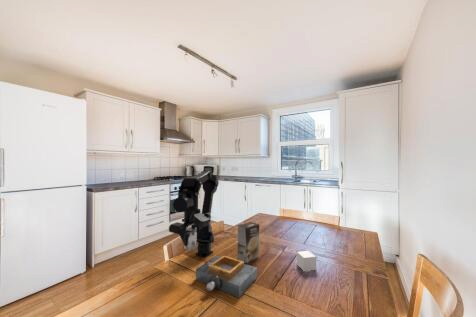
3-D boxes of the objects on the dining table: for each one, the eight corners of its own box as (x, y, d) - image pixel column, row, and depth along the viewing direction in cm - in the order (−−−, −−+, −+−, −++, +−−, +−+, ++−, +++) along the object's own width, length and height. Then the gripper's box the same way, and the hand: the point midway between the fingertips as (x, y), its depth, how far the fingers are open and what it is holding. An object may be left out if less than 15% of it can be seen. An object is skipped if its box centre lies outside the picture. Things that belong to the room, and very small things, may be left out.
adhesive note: (316, 270, 86) (316, 256, 86) (303, 272, 84) (304, 258, 85) (308, 263, 92) (308, 250, 92) (296, 265, 90) (296, 251, 90)
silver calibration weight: (190, 244, 87) (190, 224, 88) (200, 247, 84) (200, 226, 85) (181, 248, 83) (182, 227, 83) (192, 251, 80) (192, 229, 80)
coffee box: (246, 263, 91) (247, 228, 91) (237, 258, 96) (237, 225, 96) (259, 257, 97) (259, 224, 98) (249, 252, 102) (250, 221, 102)
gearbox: (217, 264, 90) (217, 250, 90) (257, 278, 80) (257, 262, 80) (188, 285, 75) (188, 268, 75) (232, 305, 64) (232, 286, 64)
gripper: (188, 214, 72) (188, 257, 72) (219, 205, 88) (219, 240, 88) (168, 210, 78) (167, 250, 78) (200, 202, 94) (200, 235, 94)
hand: (190, 243), depth 84 cm, fingers closed on silver calibration weight, 5 cm apart
